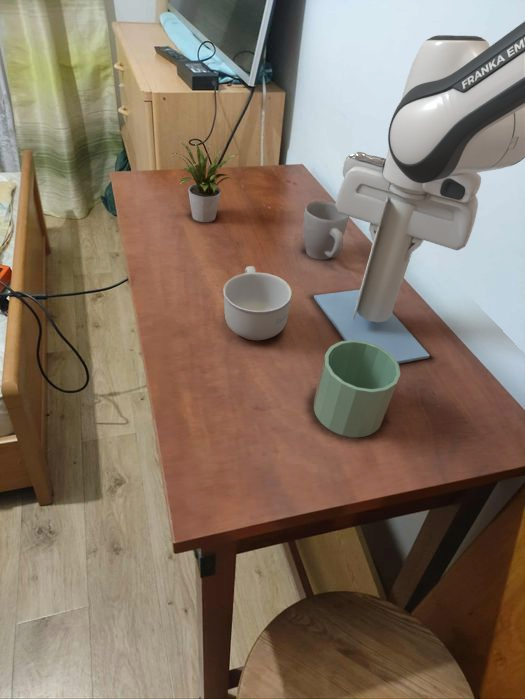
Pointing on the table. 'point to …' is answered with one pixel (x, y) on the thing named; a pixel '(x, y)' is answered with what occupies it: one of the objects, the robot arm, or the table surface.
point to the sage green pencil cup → (355, 388)
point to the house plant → (204, 185)
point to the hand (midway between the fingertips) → (390, 254)
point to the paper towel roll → (386, 264)
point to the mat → (370, 327)
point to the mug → (323, 230)
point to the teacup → (256, 304)
